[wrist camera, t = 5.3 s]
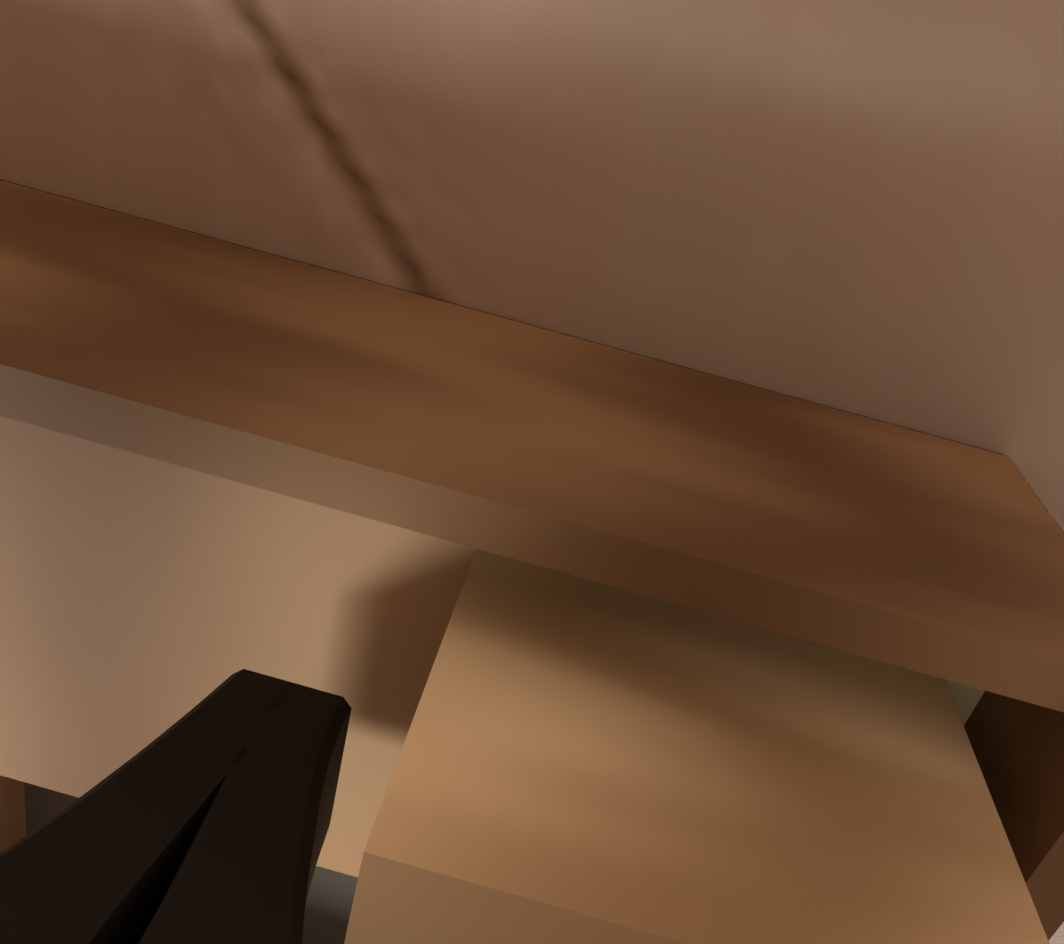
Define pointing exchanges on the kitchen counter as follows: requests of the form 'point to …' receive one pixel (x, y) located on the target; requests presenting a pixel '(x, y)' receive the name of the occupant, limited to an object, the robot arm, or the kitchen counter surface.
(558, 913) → the maple block
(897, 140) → the kitchen counter surface
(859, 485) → the box
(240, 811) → the robot arm
